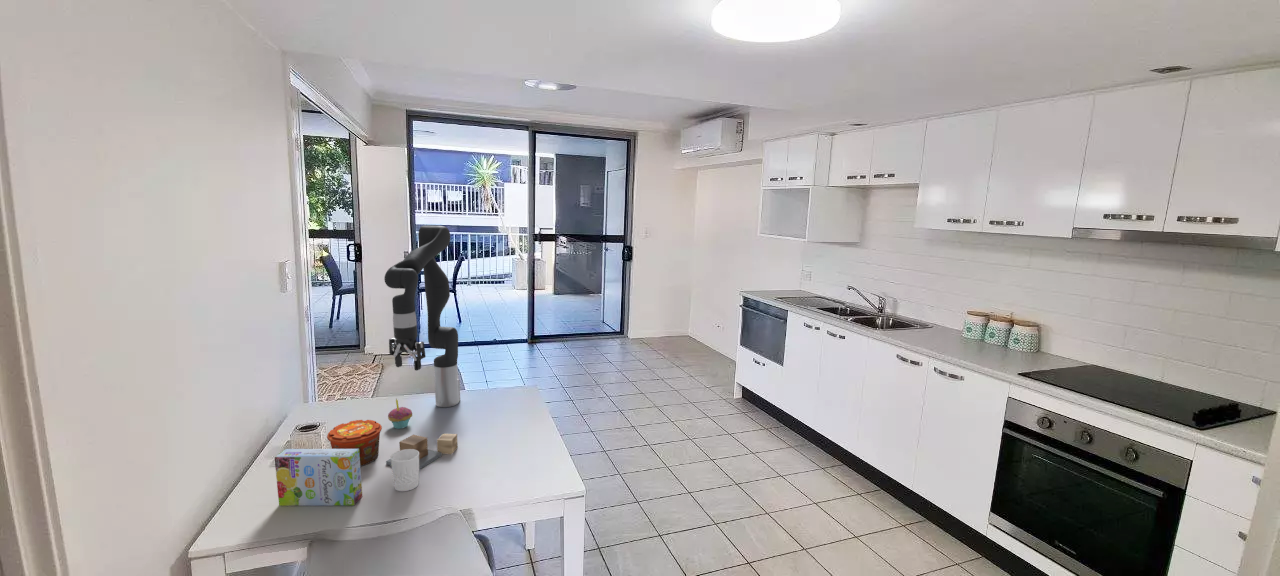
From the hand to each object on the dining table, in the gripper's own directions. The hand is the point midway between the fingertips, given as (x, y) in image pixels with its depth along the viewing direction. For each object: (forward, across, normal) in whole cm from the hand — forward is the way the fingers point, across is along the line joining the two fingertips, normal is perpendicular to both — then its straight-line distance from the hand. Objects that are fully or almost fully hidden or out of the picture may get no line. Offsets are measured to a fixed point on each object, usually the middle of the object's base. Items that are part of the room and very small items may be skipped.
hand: (408, 368), depth 191 cm
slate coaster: (+25, -14, +14) cm, 32 cm away
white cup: (+25, -24, +28) cm, 44 cm away
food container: (+26, +4, +21) cm, 33 cm away
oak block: (+26, -20, +4) cm, 33 cm away
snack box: (+25, -8, +43) cm, 51 cm away
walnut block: (+24, -14, +14) cm, 32 cm away
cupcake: (+26, +10, -4) cm, 28 cm away
